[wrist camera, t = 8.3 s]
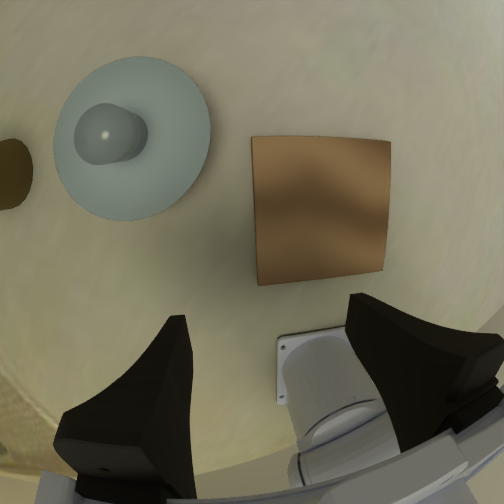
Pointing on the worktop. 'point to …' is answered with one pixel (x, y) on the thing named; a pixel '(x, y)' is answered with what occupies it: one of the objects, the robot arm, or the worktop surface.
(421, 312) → the worktop surface
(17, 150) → the cork
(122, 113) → the lid
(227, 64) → the worktop surface
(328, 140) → the board
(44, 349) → the worktop surface
